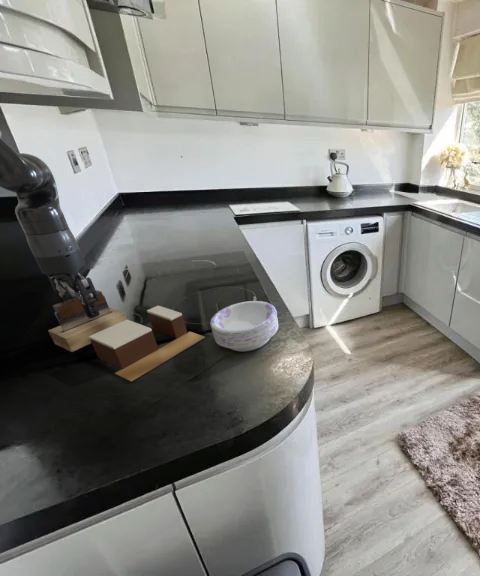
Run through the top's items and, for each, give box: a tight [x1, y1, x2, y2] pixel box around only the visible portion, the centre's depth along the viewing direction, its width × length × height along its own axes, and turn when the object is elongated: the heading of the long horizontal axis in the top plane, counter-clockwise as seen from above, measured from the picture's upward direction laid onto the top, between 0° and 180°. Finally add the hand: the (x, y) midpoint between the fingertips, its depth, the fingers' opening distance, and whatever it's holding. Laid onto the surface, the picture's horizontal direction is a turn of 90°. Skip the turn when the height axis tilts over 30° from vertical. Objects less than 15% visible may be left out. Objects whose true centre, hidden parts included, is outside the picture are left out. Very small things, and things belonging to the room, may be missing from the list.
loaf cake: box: [89, 319, 159, 370], centre depth 74 cm, size 9×8×6 cm
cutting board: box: [114, 331, 206, 382], centre depth 79 cm, size 20×18×1 cm
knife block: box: [47, 307, 128, 353], centre depth 82 cm, size 13×7×5 cm, turn 156°
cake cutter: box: [52, 289, 111, 332], centre depth 80 cm, size 10×2×12 cm, turn 156°
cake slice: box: [146, 305, 188, 339], centre depth 83 cm, size 9×3×6 cm, turn 66°
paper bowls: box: [209, 300, 279, 352], centre depth 81 cm, size 15×15×8 cm
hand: (84, 312), depth 79 cm, fingers open, 8 cm apart
